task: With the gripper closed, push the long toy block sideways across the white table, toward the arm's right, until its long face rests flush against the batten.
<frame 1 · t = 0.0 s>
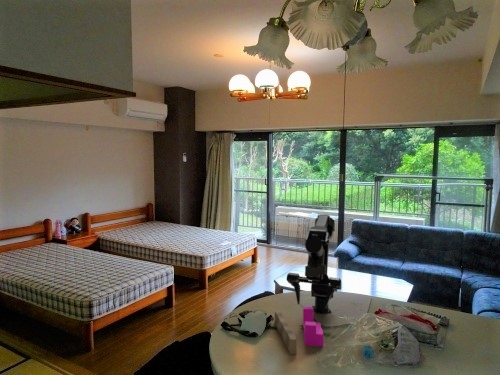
hand: (311, 306, 115), 15 cm above the table, tool tilted 35°, fingers open, 9 cm apart
batten: (284, 337, 124), on the table
toy block: (312, 335, 126), on the table
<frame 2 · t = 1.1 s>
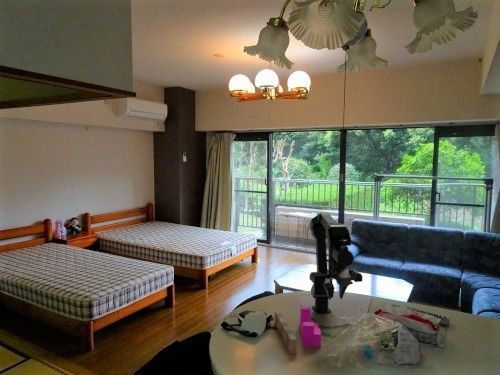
hand: (335, 299, 126), 13 cm above the table, tool pointing down, fingers open, 4 cm apart
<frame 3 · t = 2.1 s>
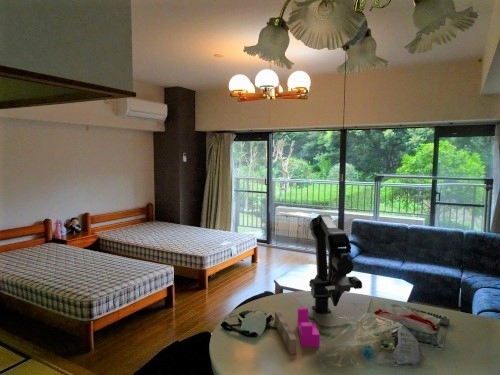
hand: (335, 305, 126), 10 cm above the table, tool pointing down, fingers closed
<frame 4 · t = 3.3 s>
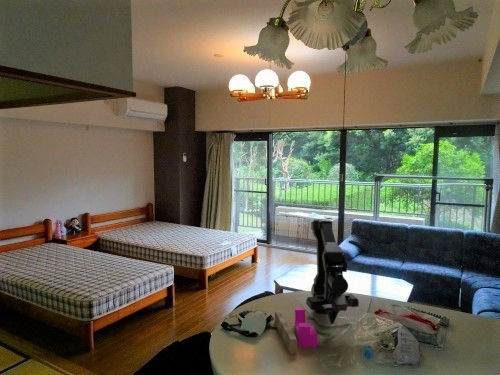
hand: (331, 323, 127), 4 cm above the table, tool pointing down, fingers closed
toy block: (305, 336, 125), on the table
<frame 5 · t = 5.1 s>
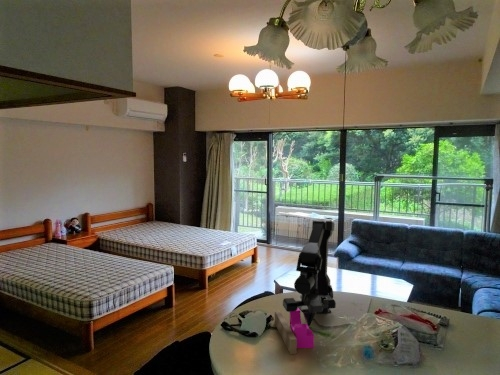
hand: (308, 325, 125), 4 cm above the table, tool pointing down, fingers closed
toy block: (301, 337, 124), on the table, touching gripper
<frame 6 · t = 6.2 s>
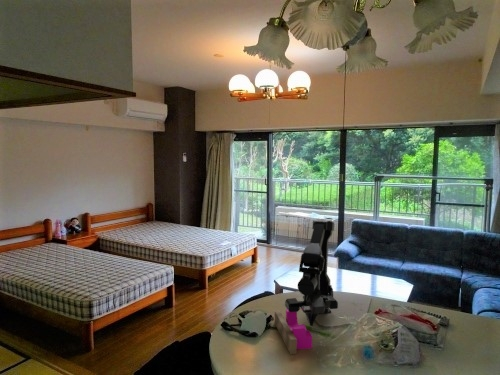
hand: (310, 325, 125), 3 cm above the table, tool pointing down, fingers closed
toy block: (298, 338, 124), on the table
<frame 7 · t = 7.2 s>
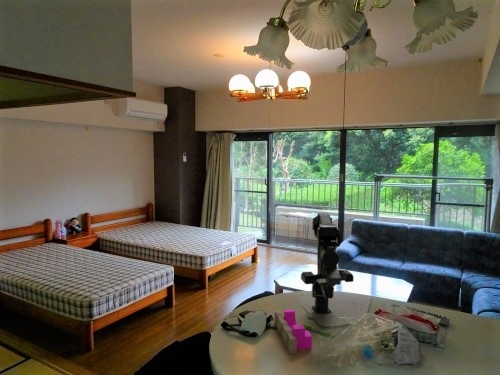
hand: (326, 298, 127), 13 cm above the table, tool pointing down, fingers closed
nothing on the table moved.
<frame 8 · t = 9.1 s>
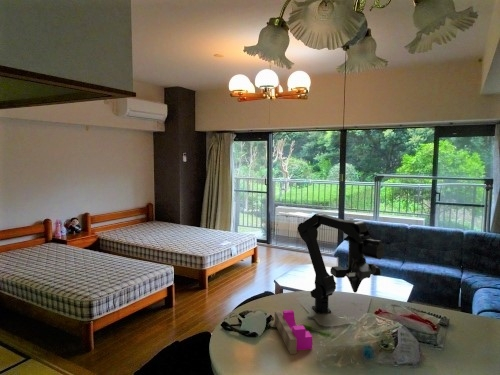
hand: (354, 292, 133), 13 cm above the table, tool pointing down, fingers closed
nothing on the table moved.
at the end: toy block inside the target area on the table beside the batten (1.5 cm from its centre), on the table; toy block tilted 0° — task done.
